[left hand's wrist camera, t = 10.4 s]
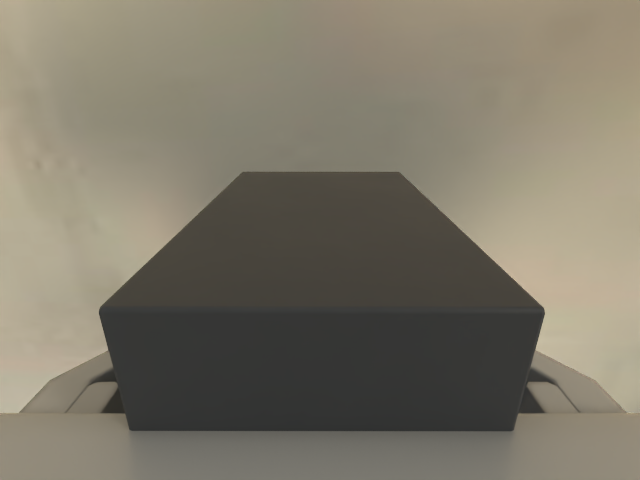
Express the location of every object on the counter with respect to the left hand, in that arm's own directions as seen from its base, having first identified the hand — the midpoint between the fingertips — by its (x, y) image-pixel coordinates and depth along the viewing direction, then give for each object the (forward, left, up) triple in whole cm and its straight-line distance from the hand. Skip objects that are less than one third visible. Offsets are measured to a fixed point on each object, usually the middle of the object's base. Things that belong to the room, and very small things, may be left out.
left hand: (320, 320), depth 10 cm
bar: (+9, +3, -3) cm, 10 cm away
